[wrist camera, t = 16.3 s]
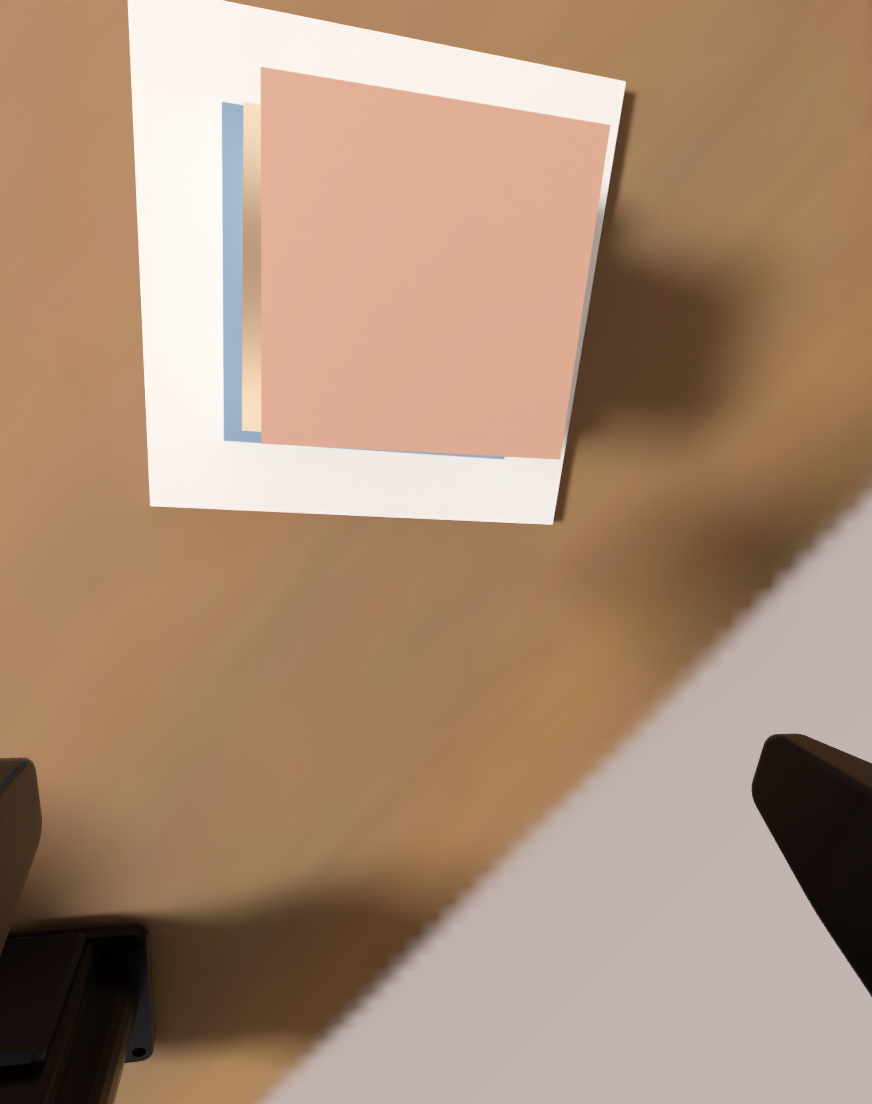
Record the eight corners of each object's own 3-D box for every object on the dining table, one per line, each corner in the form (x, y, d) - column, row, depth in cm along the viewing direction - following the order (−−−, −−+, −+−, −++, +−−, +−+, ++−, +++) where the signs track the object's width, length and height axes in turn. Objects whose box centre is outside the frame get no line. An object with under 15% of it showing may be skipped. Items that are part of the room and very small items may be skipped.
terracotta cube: (486, 418, 16) (559, 459, 11) (277, 405, 15) (261, 443, 10) (512, 189, 14) (610, 124, 9) (278, 157, 13) (260, 67, 8)
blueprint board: (547, 520, 21) (553, 525, 20) (154, 501, 18) (149, 506, 18) (617, 87, 17) (627, 80, 16) (132, -8, 15) (125, -22, 14)
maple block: (481, 431, 19) (510, 450, 16) (252, 413, 18) (242, 431, 15) (512, 183, 17) (552, 154, 14) (255, 141, 15) (243, 102, 13)
